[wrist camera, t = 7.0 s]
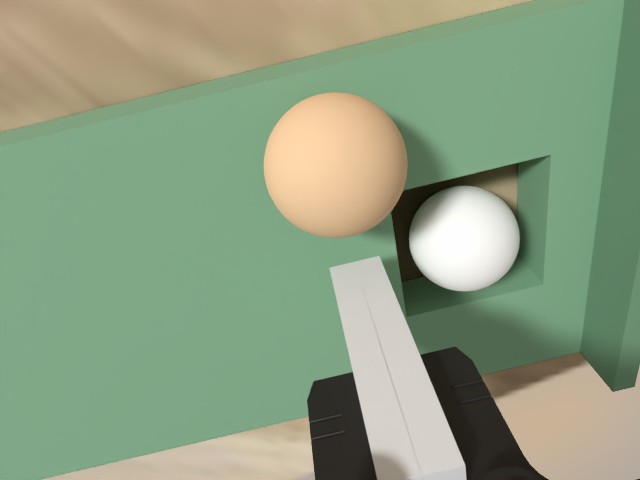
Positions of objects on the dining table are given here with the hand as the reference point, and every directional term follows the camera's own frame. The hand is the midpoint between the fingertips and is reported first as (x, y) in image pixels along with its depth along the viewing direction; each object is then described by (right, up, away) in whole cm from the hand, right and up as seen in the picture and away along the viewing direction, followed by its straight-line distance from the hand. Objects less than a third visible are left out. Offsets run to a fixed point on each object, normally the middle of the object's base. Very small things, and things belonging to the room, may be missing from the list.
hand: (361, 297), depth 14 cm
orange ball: (-1, +4, -3) cm, 5 cm away
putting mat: (-5, +1, +3) cm, 6 cm away
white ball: (+4, +2, +1) cm, 4 cm away
